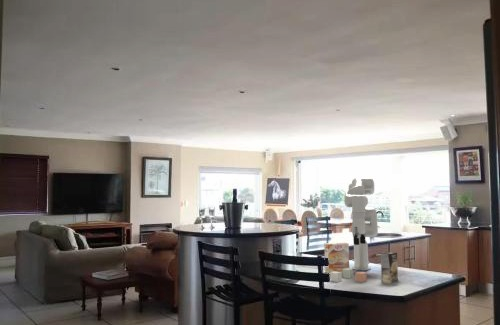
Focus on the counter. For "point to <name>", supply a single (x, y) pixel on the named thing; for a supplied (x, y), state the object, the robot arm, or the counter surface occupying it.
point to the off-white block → (336, 276)
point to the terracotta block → (360, 276)
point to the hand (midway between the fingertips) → (359, 244)
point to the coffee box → (389, 264)
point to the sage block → (347, 272)
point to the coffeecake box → (337, 256)
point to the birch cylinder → (386, 278)
